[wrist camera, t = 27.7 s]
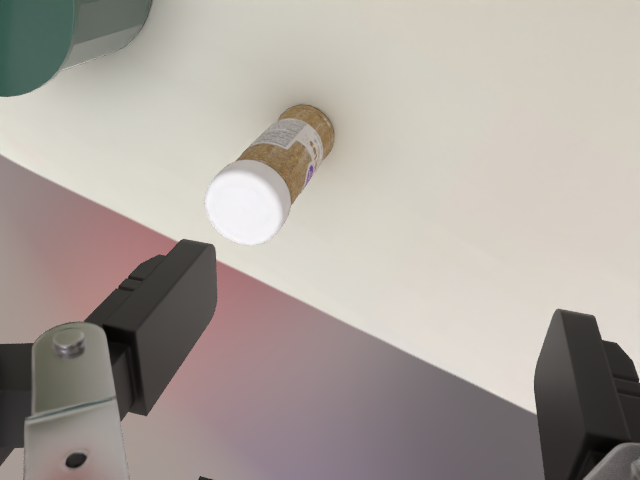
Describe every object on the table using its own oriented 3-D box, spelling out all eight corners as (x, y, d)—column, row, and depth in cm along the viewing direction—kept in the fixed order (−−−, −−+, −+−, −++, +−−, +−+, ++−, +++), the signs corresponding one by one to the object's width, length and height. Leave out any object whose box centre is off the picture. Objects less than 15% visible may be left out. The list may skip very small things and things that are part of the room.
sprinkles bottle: (334, 165, 43) (281, 253, 31) (276, 158, 43) (204, 242, 32) (336, 105, 40) (281, 177, 29) (275, 99, 41) (198, 167, 30)
